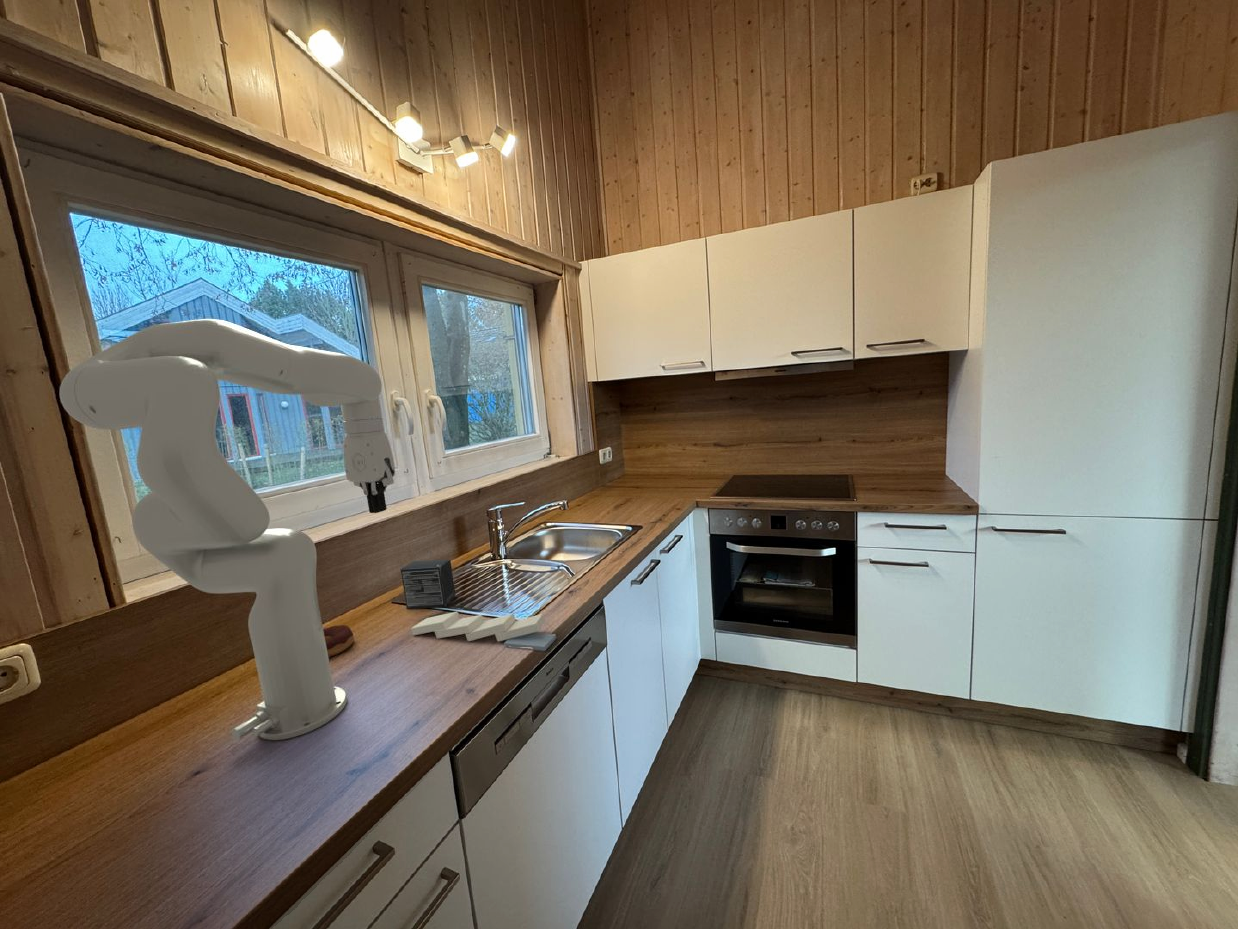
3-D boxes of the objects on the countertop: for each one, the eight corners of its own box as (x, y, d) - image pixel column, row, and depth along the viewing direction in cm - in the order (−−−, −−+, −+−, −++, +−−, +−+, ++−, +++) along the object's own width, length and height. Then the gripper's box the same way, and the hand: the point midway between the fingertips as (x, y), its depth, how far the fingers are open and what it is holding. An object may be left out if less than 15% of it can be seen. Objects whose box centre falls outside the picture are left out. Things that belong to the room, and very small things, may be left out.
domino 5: (504, 643, 99) (544, 646, 95) (517, 631, 103) (555, 634, 100) (505, 650, 99) (545, 654, 96) (518, 638, 103) (556, 641, 100)
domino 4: (506, 631, 105) (545, 620, 104) (497, 641, 100) (538, 631, 99) (504, 624, 105) (542, 613, 104) (495, 634, 100) (535, 623, 99)
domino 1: (428, 624, 112) (459, 618, 109) (413, 635, 107) (445, 629, 104) (426, 618, 112) (457, 611, 109) (410, 628, 107) (442, 622, 104)
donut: (289, 666, 99) (286, 648, 99) (315, 642, 109) (312, 625, 108) (341, 660, 100) (338, 641, 99) (362, 636, 110) (359, 620, 109)
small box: (457, 596, 127) (451, 557, 126) (446, 607, 121) (440, 566, 120) (418, 598, 129) (412, 560, 127) (405, 609, 122) (399, 569, 121)
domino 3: (479, 630, 107) (515, 620, 105) (468, 641, 102) (506, 630, 100) (476, 623, 107) (513, 613, 105) (465, 634, 102) (503, 623, 100)
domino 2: (452, 627, 110) (484, 621, 106) (436, 638, 105) (469, 632, 102) (449, 620, 110) (481, 614, 106) (434, 631, 105) (467, 625, 102)
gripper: (324, 431, 105) (339, 515, 108) (375, 427, 99) (389, 516, 102) (354, 428, 112) (368, 507, 115) (404, 424, 106) (417, 507, 109)
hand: (378, 511), depth 108 cm, fingers closed
